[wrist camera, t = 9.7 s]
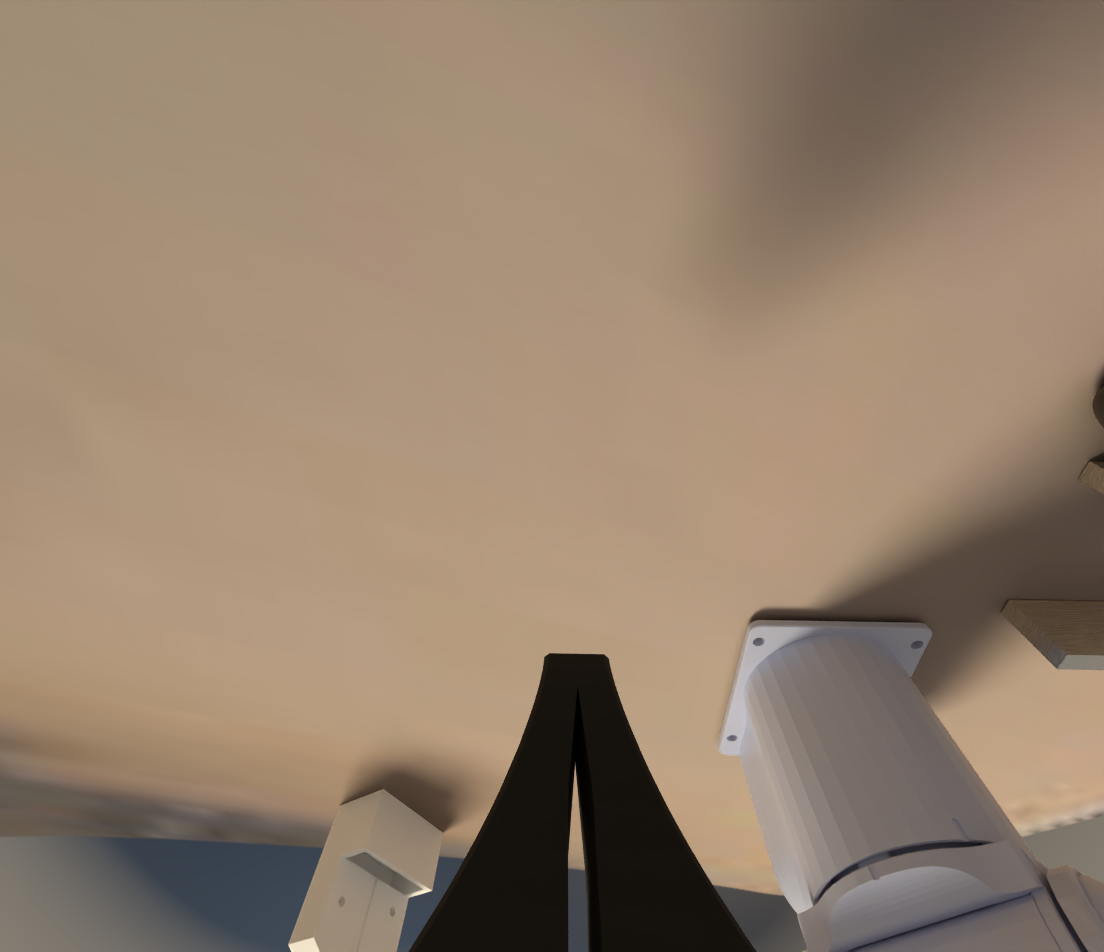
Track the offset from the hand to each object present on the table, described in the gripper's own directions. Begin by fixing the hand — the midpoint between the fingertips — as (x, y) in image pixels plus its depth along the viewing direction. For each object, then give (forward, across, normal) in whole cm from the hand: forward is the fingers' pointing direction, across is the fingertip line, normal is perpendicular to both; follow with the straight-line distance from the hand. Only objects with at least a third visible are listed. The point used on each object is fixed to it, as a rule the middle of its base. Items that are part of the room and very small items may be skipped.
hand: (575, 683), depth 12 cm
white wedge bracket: (+10, +11, +25) cm, 29 cm away
